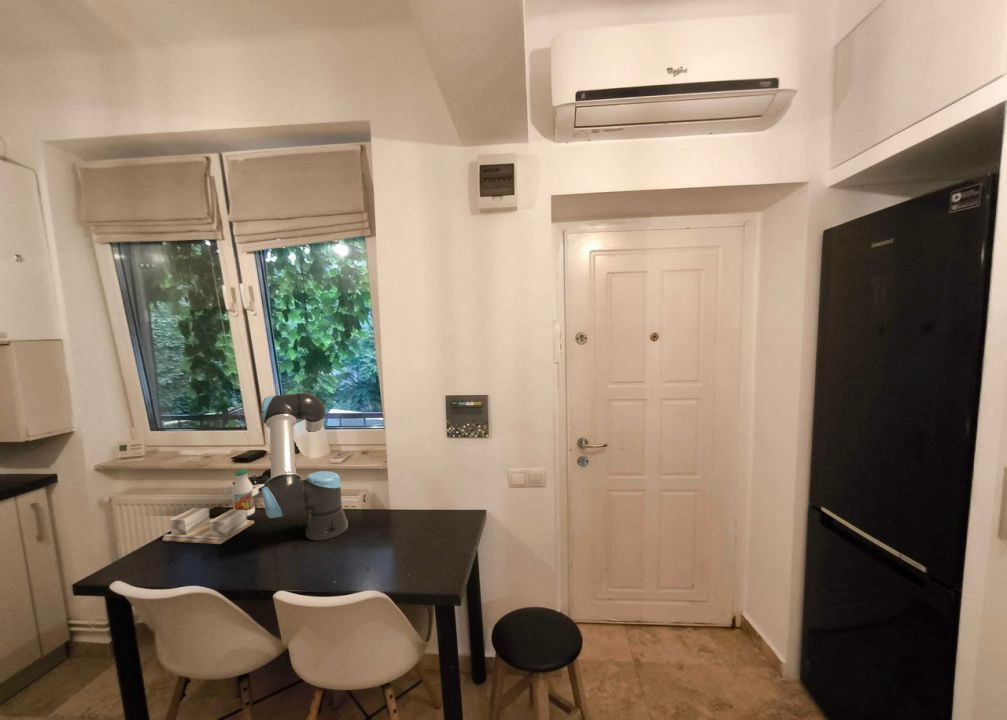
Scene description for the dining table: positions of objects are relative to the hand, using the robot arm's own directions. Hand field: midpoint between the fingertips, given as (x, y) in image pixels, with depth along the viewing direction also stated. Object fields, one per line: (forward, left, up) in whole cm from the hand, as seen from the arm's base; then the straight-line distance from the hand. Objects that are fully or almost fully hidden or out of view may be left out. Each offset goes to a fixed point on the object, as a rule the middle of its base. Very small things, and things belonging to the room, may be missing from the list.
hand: (237, 492), depth 163 cm
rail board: (+2, +12, -11) cm, 16 cm away
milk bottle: (0, -2, -11) cm, 11 cm away
